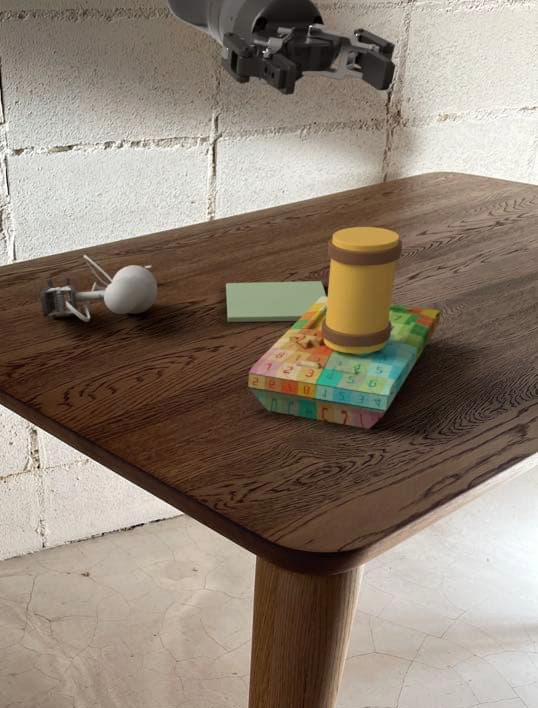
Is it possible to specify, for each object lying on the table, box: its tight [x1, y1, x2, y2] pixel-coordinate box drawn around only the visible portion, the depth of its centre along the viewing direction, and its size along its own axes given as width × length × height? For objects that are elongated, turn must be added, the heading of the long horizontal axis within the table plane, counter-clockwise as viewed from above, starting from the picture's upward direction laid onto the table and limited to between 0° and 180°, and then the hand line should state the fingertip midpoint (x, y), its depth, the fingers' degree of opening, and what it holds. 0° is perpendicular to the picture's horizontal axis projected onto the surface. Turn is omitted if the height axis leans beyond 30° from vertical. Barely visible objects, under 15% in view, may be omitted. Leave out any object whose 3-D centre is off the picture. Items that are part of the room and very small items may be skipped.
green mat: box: [225, 280, 327, 323], centre depth 97 cm, size 11×11×1 cm
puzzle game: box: [247, 295, 442, 430], centre depth 79 cm, size 12×5×20 cm
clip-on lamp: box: [40, 254, 158, 323], centre depth 96 cm, size 12×6×18 cm
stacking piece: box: [321, 226, 403, 354], centre depth 73 cm, size 6×6×9 cm
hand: (340, 79), depth 71 cm, fingers open, 8 cm apart
